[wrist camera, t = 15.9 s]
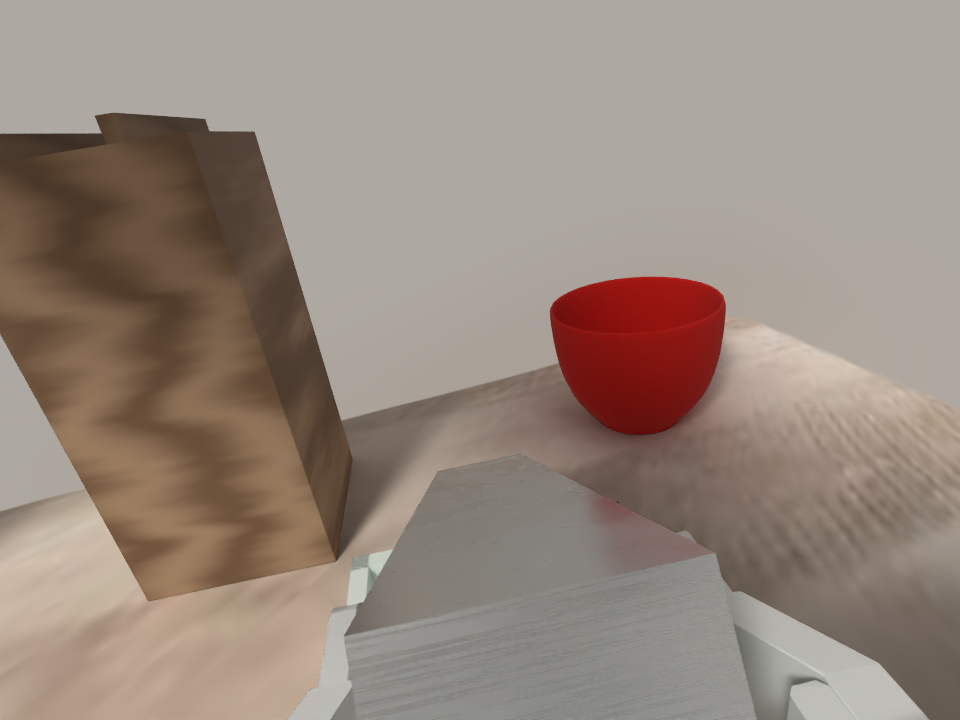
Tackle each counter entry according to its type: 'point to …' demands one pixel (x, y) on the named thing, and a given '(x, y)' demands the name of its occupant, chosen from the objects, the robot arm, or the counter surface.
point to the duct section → (543, 610)
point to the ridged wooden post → (172, 347)
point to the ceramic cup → (639, 348)
